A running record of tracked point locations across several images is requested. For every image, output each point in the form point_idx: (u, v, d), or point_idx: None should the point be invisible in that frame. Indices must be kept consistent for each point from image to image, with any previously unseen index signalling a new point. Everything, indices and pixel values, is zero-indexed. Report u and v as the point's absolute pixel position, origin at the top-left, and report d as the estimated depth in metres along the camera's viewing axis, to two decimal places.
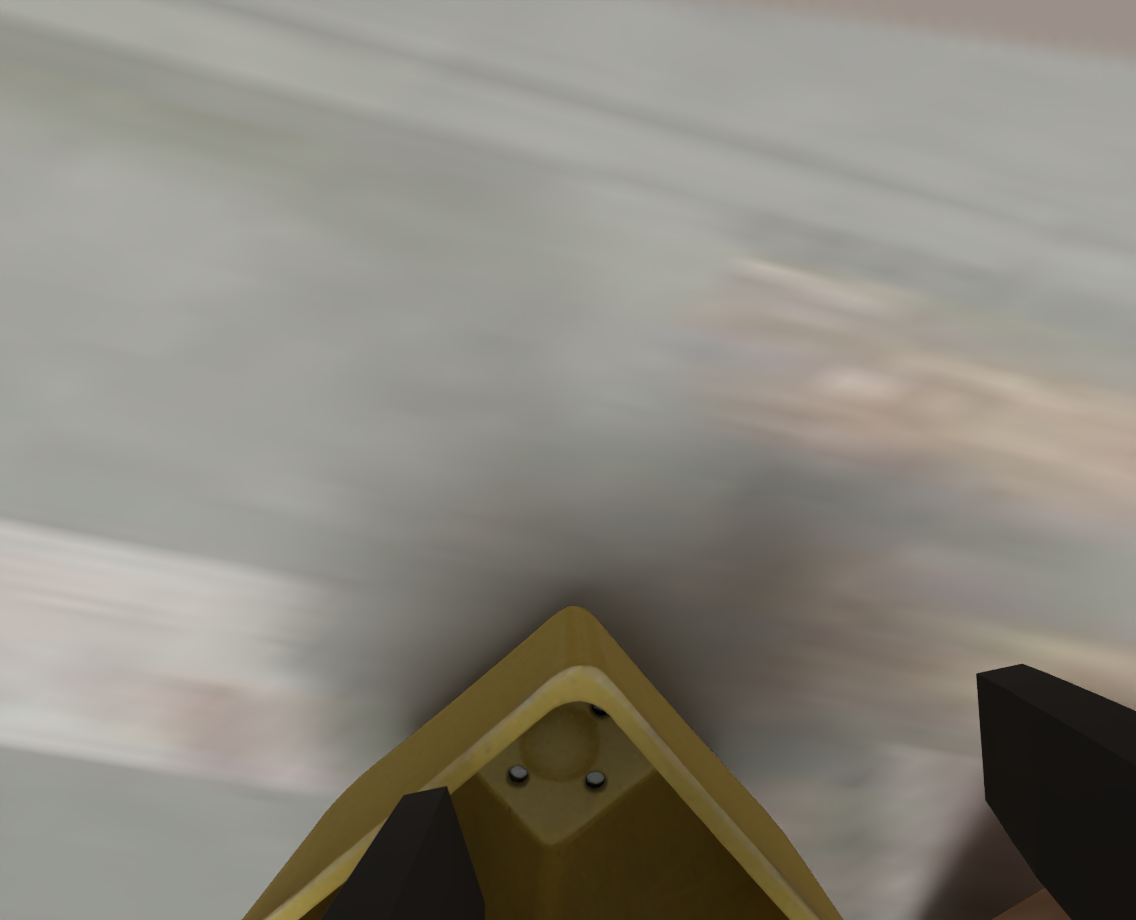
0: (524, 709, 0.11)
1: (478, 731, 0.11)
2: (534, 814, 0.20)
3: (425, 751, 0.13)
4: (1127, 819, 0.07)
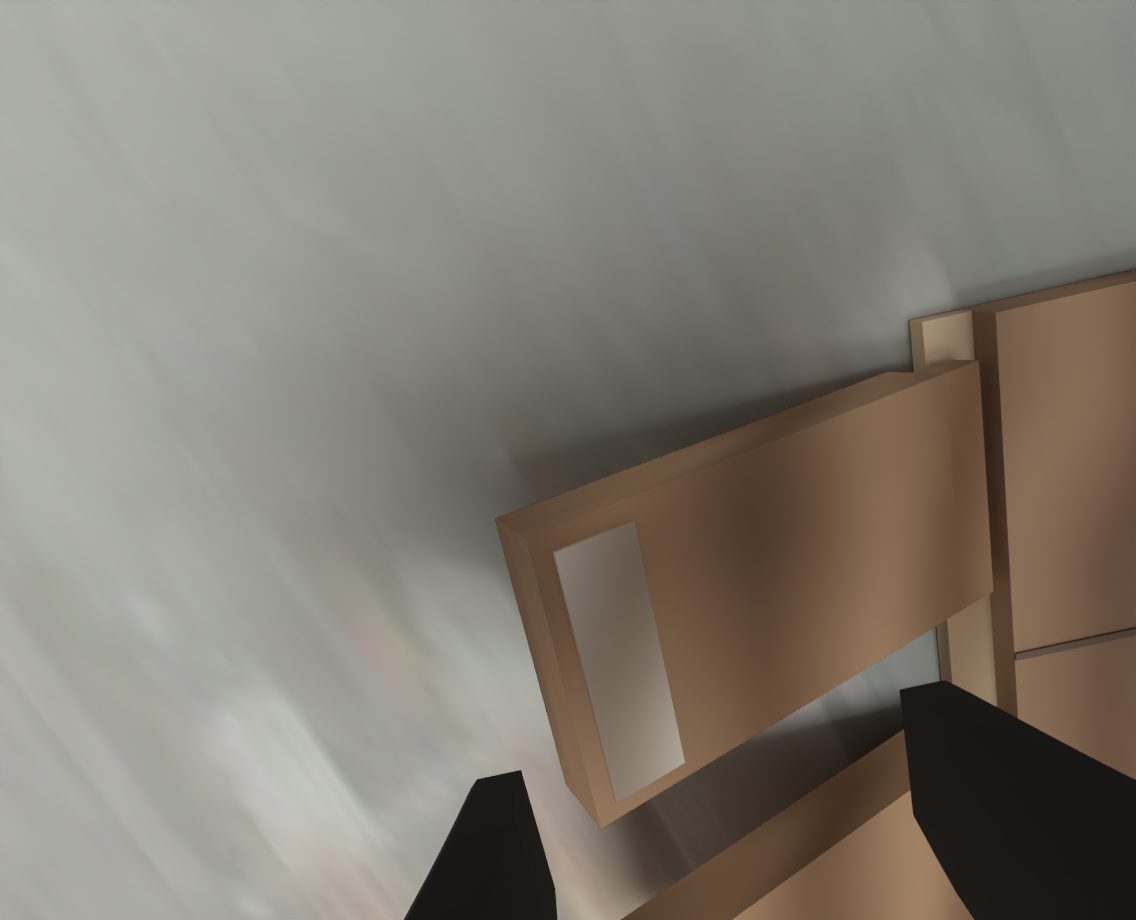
0: None
1: None
2: None
3: None
4: (1026, 840, 0.07)
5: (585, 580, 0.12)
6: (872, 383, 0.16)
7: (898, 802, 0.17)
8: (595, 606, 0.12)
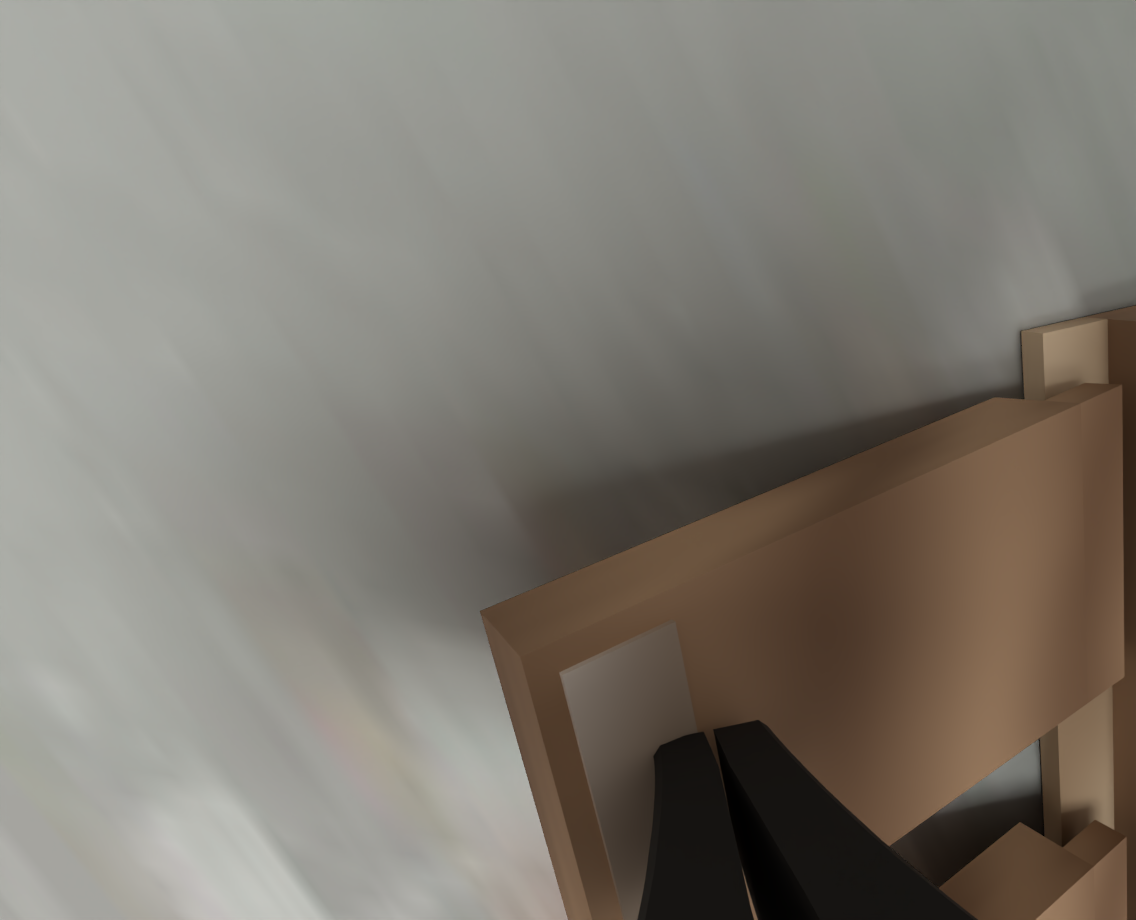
0: None
1: None
2: None
3: None
4: (781, 890, 0.07)
5: (604, 709, 0.08)
6: (979, 414, 0.12)
7: None
8: (619, 741, 0.09)
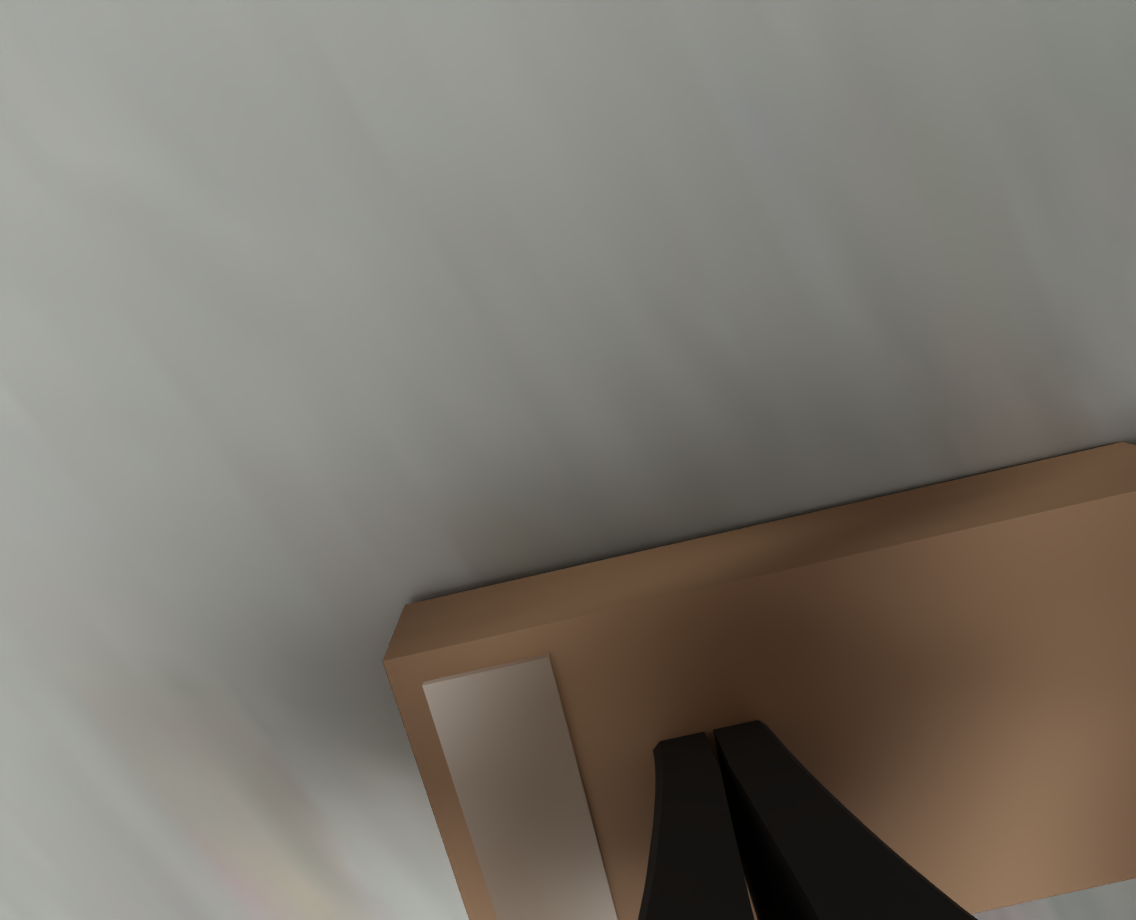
0: None
1: None
2: None
3: None
4: (781, 890, 0.07)
5: (474, 723, 0.09)
6: (1075, 465, 0.09)
7: None
8: (490, 757, 0.09)
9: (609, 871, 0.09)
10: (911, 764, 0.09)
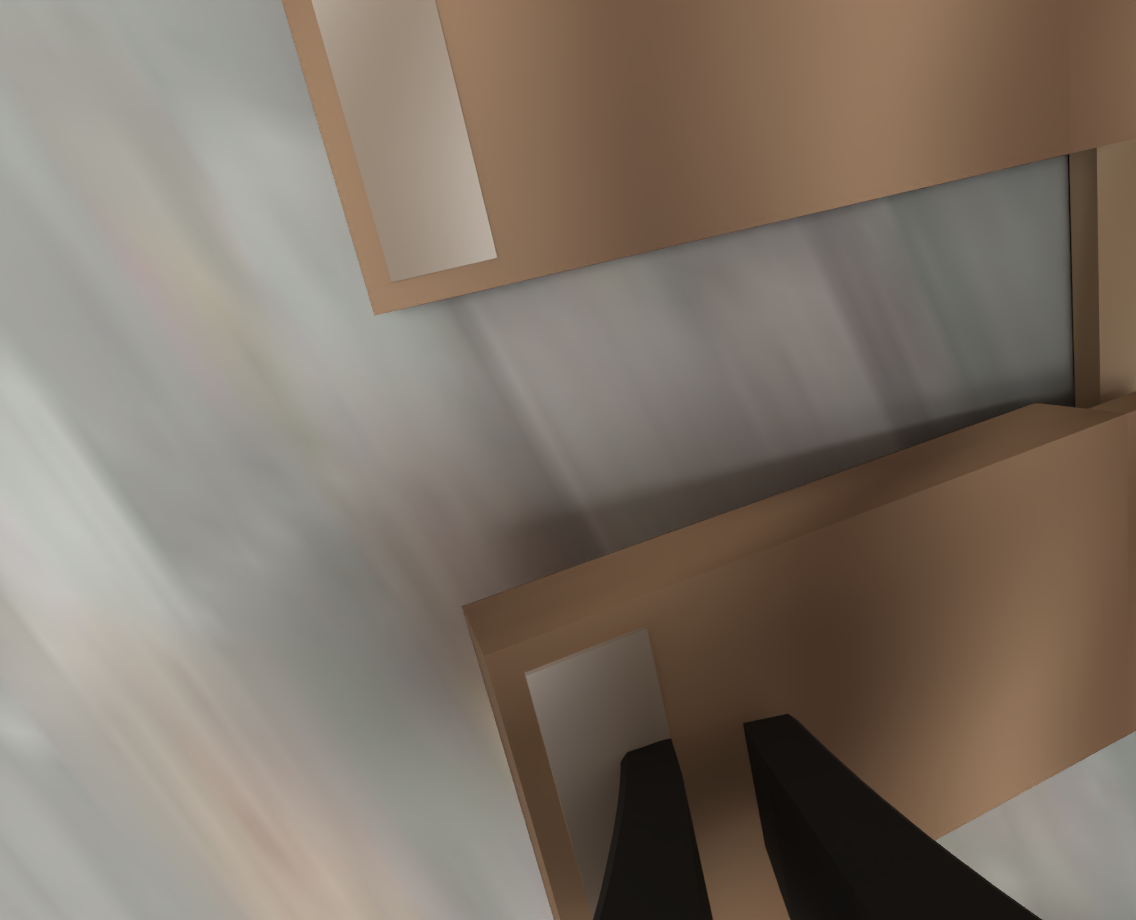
0: None
1: None
2: None
3: None
4: (819, 882, 0.07)
5: None
6: None
7: (986, 474, 0.10)
8: None
9: (470, 128, 0.10)
10: (762, 8, 0.09)
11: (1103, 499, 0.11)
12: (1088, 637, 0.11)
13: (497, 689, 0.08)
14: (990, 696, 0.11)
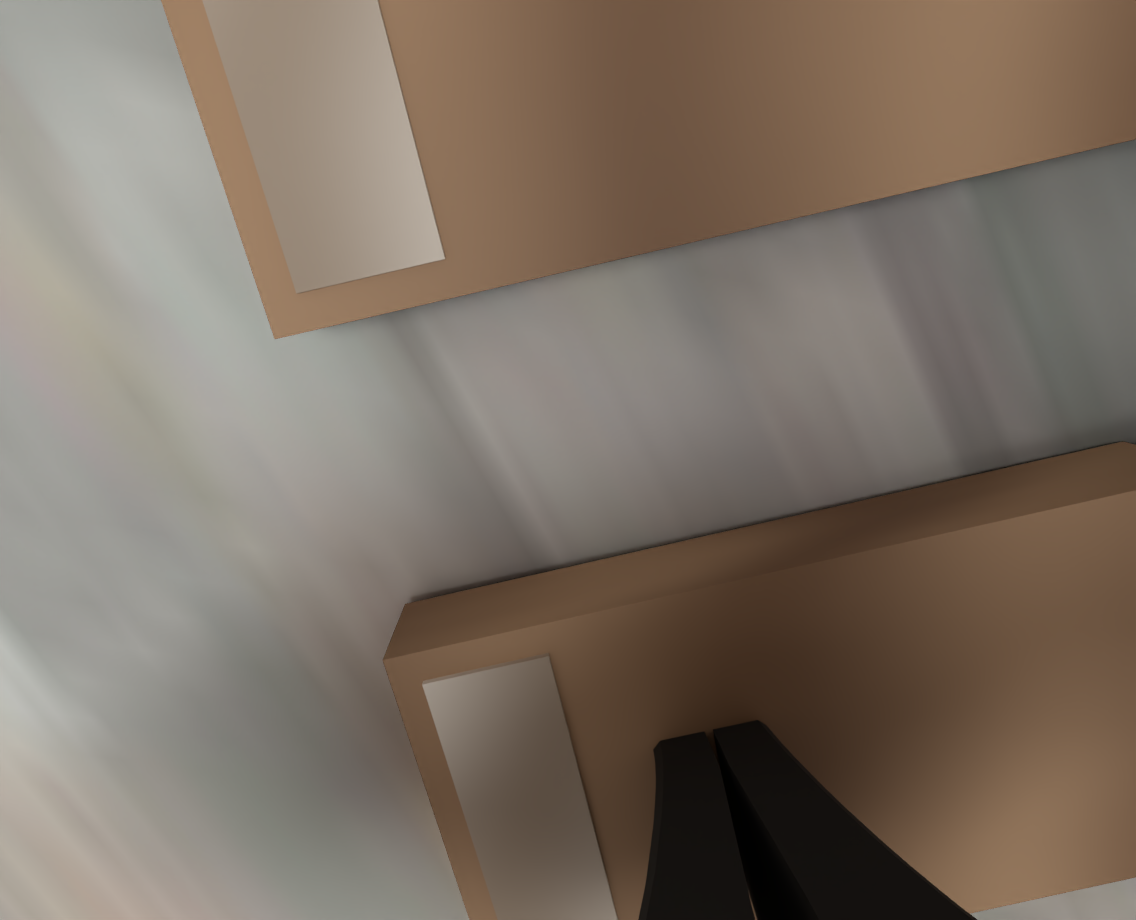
0: None
1: None
2: None
3: None
4: (780, 890, 0.07)
5: None
6: None
7: (992, 531, 0.08)
8: None
9: (403, 75, 0.07)
10: None
11: None
12: None
13: (398, 692, 0.09)
14: (994, 783, 0.09)
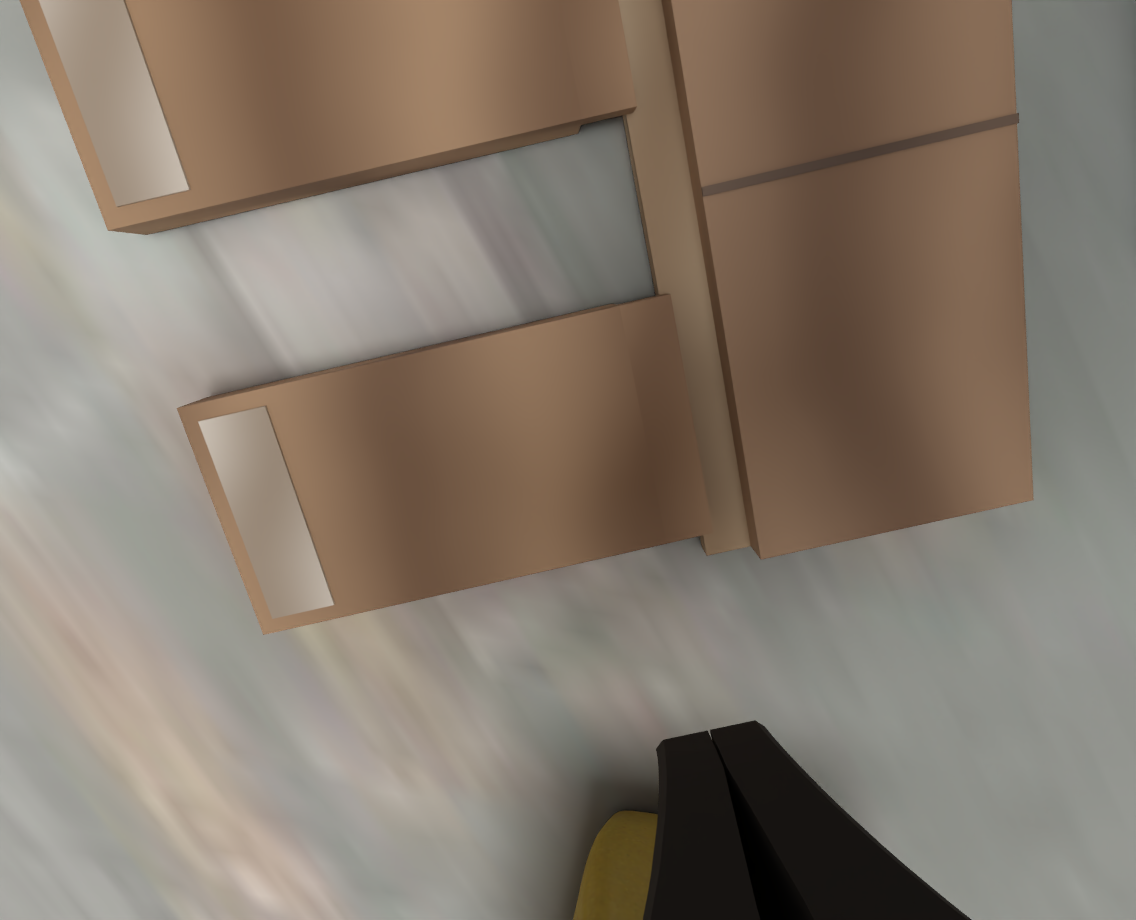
0: None
1: None
2: None
3: None
4: (777, 891, 0.07)
5: None
6: None
7: (498, 338, 0.16)
8: None
9: (162, 100, 0.14)
10: (354, 19, 0.14)
11: (607, 365, 0.16)
12: (612, 463, 0.17)
13: (187, 428, 0.16)
14: (527, 491, 0.17)
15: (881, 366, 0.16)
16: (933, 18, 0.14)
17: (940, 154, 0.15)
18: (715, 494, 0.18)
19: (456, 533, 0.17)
